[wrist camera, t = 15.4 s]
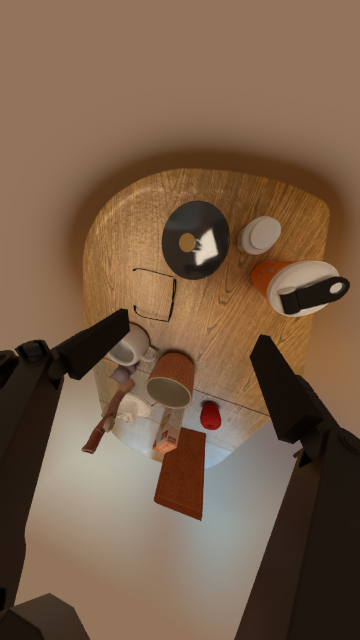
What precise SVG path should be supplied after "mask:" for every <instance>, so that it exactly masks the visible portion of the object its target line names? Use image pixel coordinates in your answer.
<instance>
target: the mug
mask: <svg viewBox="0 0 360 640" xmlns="http://www.w3.org/2000/svg"><path fill="white" fill-rule="evenodd" d="M129 325H130V332H129V333H128V334H127V335H126V336H125V337H124V338H123V339H122V340H121V341H120V342H119V343H118V344H117V345H115V346H114V347H113V348H112V349H111V350H110V351H109V352H108V353H107V355H108V356H109V357H110V358H111V359H112V360H113V361H114V362H116V363H118V364H121V365H125V366H130V365H133V364H135V363H137V362H138V361H139V360H140V359H142V360H143V361H146V362H151V361H154V360H155V359H156V357H157V353H156V351H155V350H154V349H153V348H152V347H150V346H149V344H150V343H149V338H148V336H147V334H146V333H145V332H144V331H143V330H142V329H141V328H140V327H138V326H137V325H134V324H131V323H129ZM148 350H150V351H151V352H153V354H154V356H153V357H152V358H146V357H144V355H145V354H146V352H147V351H148Z"/></svg>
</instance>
